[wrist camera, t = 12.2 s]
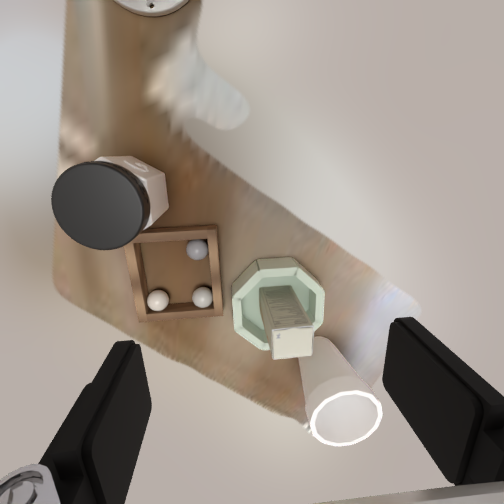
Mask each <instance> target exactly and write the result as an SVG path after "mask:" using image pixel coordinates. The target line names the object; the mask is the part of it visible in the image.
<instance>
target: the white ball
mask: <svg viewBox="0 0 504 504" xmlns="http://www.w3.org/2000/svg"><path fill="white" fill-rule="evenodd" d="M192 299H193V302H194V304H195V305H196V306H198V307H200V308H205V307H208V306H209V305H210V304H211V303H212V301H213V293H212V291H211V290H210V289H209V288H206V287H200V288H197V289H196V290H195V291H194V293H193V296H192Z"/></svg>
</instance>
